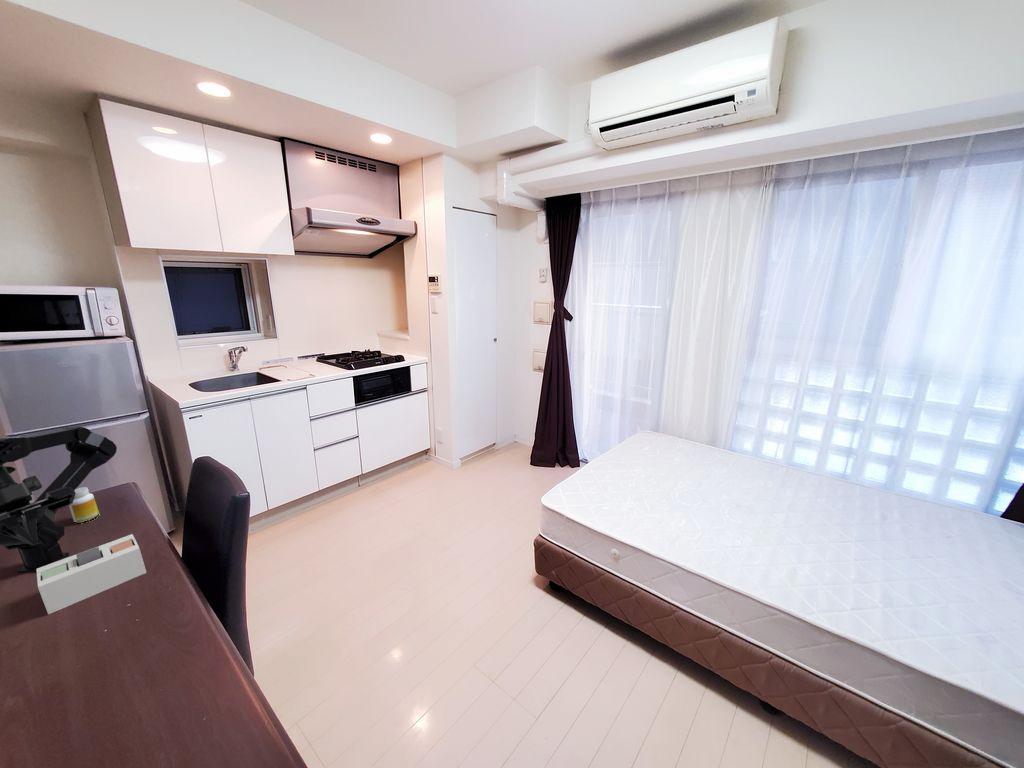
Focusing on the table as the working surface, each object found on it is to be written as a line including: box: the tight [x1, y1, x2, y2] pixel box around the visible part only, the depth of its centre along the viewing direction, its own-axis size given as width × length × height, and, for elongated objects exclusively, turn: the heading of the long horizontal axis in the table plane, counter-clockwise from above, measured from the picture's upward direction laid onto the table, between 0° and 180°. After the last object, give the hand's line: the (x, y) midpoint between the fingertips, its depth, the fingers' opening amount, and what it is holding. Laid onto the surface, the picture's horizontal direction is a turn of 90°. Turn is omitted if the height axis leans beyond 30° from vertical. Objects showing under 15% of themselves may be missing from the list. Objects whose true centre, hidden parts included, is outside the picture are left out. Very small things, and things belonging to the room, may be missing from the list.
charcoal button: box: [75, 546, 102, 566], centre depth 92 cm, size 4×4×2 cm
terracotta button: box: [111, 540, 133, 553], centre depth 96 cm, size 4×4×2 cm
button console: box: [36, 533, 147, 615], centre depth 93 cm, size 9×16×7 cm, turn 141°
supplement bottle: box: [68, 486, 100, 523], centre depth 119 cm, size 5×5×10 cm
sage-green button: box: [42, 564, 68, 580], centre depth 88 cm, size 4×4×2 cm
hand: (35, 543), depth 88 cm, fingers closed
